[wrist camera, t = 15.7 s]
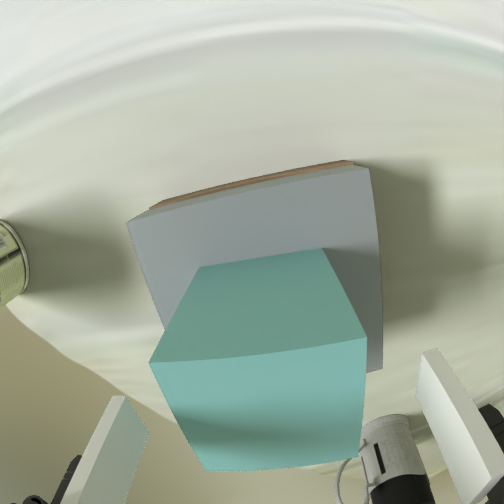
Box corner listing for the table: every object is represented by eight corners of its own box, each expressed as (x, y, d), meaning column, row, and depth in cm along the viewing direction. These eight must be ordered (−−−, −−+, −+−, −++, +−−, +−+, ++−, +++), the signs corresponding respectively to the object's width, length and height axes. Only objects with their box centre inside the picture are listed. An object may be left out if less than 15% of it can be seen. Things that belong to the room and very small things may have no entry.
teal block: (199, 266, 20) (148, 362, 11) (321, 247, 19) (366, 337, 10) (225, 362, 23) (205, 470, 13) (330, 348, 22) (358, 456, 12)
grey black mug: (387, 450, 37) (408, 525, 23) (310, 443, 36) (319, 534, 22) (420, 416, 35) (453, 495, 20) (341, 406, 34) (363, 507, 19)
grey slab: (147, 210, 23) (126, 222, 19) (351, 164, 21) (369, 168, 17) (204, 371, 28) (196, 399, 24) (370, 341, 26) (382, 368, 22)
